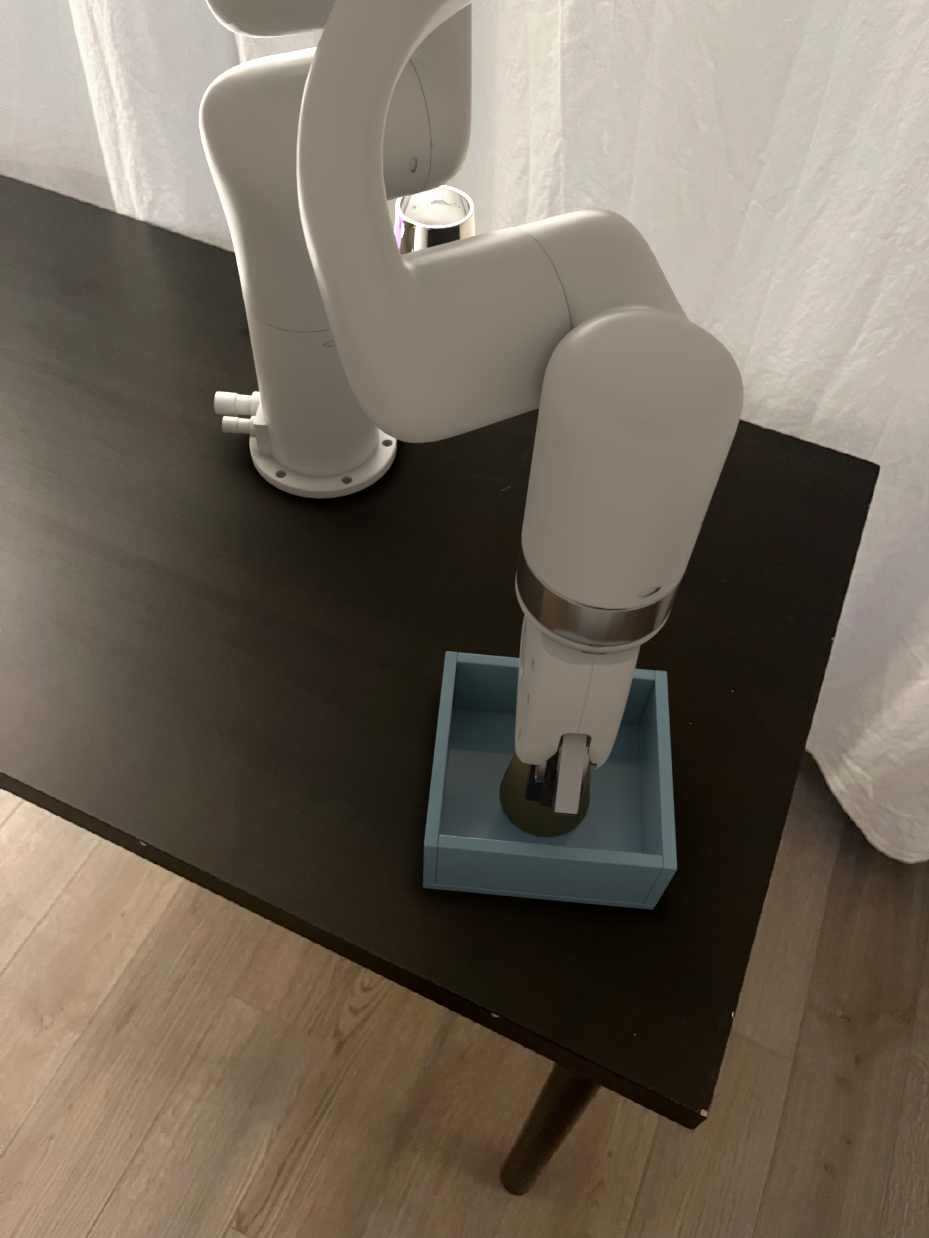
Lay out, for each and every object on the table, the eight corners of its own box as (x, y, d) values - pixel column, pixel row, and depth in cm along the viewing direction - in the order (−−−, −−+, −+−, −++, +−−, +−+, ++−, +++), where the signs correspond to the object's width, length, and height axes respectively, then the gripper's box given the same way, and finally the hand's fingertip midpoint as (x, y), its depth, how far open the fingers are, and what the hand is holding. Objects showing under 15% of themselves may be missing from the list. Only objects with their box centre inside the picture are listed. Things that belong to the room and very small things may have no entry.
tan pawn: (583, 846, 62) (612, 766, 53) (491, 826, 62) (504, 745, 53) (594, 764, 65) (623, 677, 56) (507, 746, 66) (522, 657, 57)
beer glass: (443, 386, 88) (447, 239, 76) (381, 358, 90) (376, 210, 78) (482, 347, 92) (492, 200, 80) (422, 321, 94) (423, 174, 82)
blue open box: (422, 888, 60) (423, 845, 55) (442, 704, 68) (445, 650, 63) (653, 910, 60) (677, 869, 55) (646, 722, 68) (667, 671, 63)
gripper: (525, 435, 49) (500, 636, 64) (507, 721, 39) (482, 882, 54) (670, 448, 49) (611, 646, 64) (689, 737, 39) (614, 894, 54)
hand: (552, 752), depth 59 cm, fingers closed on tan pawn, 5 cm apart
